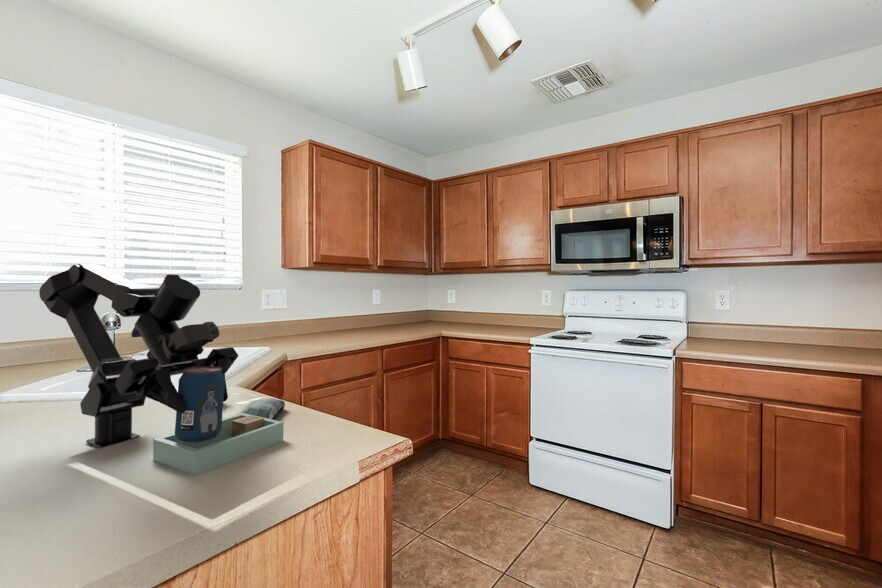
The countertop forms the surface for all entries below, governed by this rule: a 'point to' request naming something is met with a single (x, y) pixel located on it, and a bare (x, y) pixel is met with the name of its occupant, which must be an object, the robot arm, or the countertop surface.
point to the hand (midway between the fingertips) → (206, 405)
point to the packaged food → (264, 408)
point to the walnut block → (246, 425)
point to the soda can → (200, 404)
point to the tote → (216, 446)
